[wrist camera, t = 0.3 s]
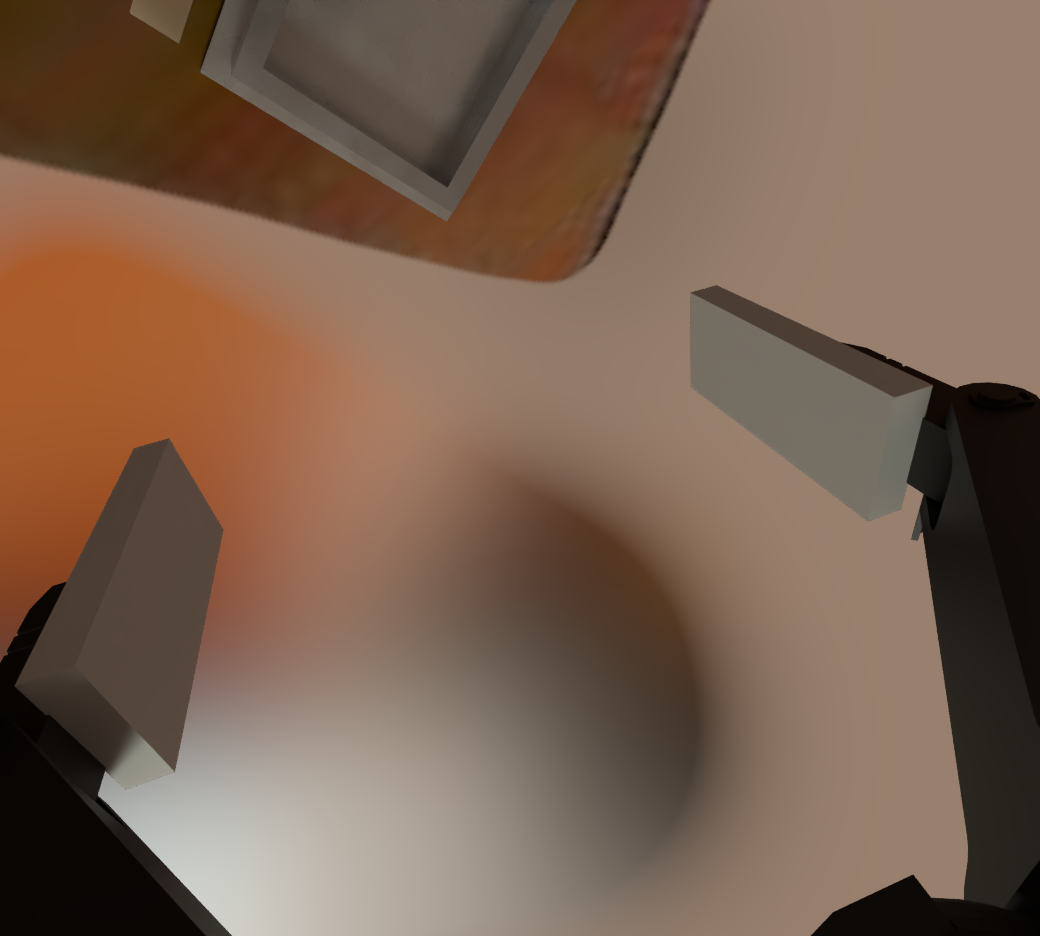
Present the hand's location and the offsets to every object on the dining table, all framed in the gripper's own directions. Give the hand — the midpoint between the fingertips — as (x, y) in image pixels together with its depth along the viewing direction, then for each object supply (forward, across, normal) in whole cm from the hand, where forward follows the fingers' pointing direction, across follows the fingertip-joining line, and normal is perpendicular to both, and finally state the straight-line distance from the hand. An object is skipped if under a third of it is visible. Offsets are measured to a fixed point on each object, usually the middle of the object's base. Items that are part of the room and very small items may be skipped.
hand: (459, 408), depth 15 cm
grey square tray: (+24, +4, +9) cm, 26 cm away
